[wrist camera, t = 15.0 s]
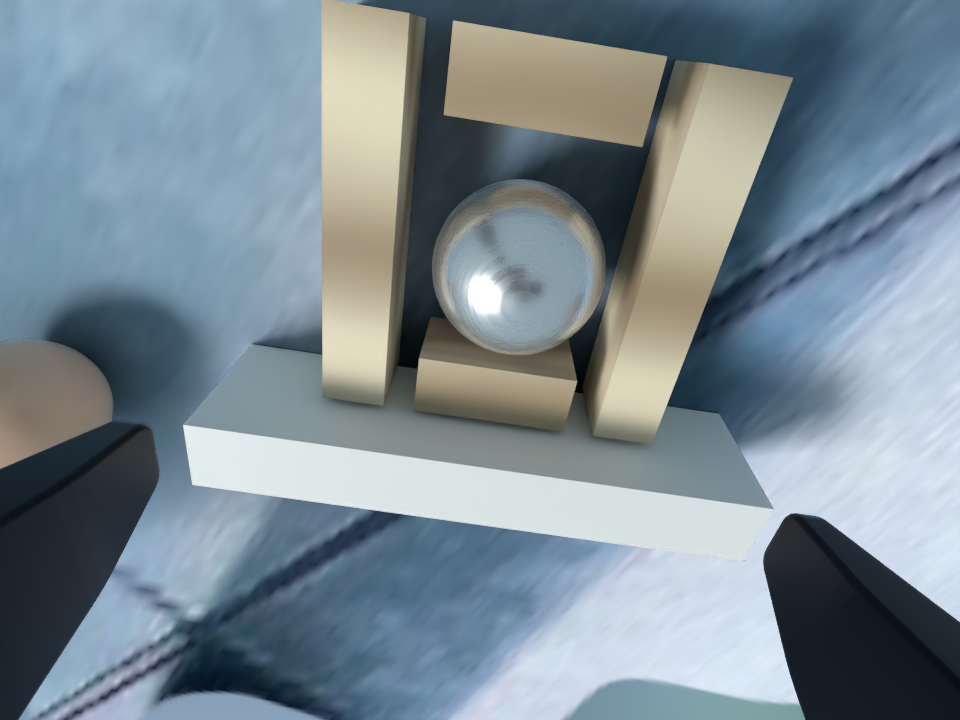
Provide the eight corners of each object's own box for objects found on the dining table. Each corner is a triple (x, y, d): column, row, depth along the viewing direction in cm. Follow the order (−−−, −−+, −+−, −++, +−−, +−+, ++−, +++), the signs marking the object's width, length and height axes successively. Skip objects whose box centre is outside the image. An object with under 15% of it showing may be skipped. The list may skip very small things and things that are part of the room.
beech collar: (353, 5, 15) (321, -2, 12) (745, 71, 15) (793, 77, 13) (345, 352, 20) (322, 397, 18) (633, 394, 21) (651, 444, 18)
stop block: (251, 344, 20) (182, 424, 16) (719, 414, 21) (773, 509, 17) (255, 396, 22) (192, 484, 17) (697, 461, 22) (743, 561, 18)
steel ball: (447, 151, 17) (434, 190, 12) (607, 175, 17) (649, 222, 13) (430, 300, 19) (415, 376, 15) (570, 319, 20) (595, 398, 15)
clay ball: (-8, 305, 20) (-150, 376, 16) (129, 325, 20) (27, 402, 16) (28, 414, 23) (-85, 502, 18) (150, 431, 23) (67, 522, 18)
